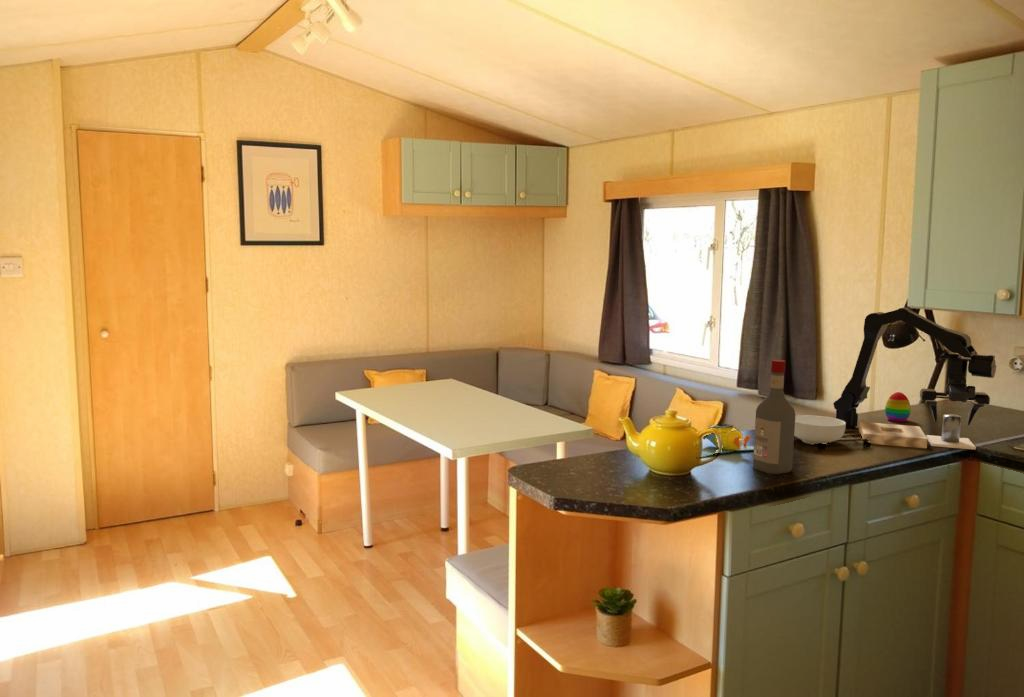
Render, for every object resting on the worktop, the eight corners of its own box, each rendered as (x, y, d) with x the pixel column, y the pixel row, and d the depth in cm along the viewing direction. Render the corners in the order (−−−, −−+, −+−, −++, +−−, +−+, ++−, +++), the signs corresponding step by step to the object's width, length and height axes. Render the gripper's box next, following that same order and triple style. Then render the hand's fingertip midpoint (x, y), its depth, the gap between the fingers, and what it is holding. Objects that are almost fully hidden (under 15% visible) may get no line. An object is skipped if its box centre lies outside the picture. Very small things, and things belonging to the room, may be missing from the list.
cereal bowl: (856, 444, 262) (857, 422, 262) (820, 451, 254) (821, 428, 253) (810, 433, 277) (812, 412, 276) (775, 439, 268) (776, 417, 267)
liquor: (772, 475, 227) (778, 364, 223) (747, 467, 235) (753, 359, 231) (797, 471, 231) (803, 362, 227) (771, 463, 239) (778, 357, 235)
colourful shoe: (704, 432, 239) (672, 423, 252) (703, 463, 240) (671, 451, 253) (781, 424, 251) (747, 415, 264) (780, 453, 252) (746, 443, 265)
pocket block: (862, 443, 265) (863, 433, 264) (858, 430, 282) (859, 421, 281) (926, 448, 259) (927, 438, 259) (918, 435, 276) (919, 426, 276)
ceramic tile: (931, 446, 262) (932, 443, 262) (926, 437, 274) (926, 434, 274) (975, 449, 259) (975, 447, 259) (967, 440, 270) (968, 438, 270)
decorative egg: (915, 422, 296) (917, 394, 295) (894, 423, 294) (896, 394, 293) (899, 417, 304) (901, 389, 303) (879, 418, 302) (881, 390, 301)
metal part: (942, 441, 264) (944, 416, 263) (940, 438, 269) (942, 413, 268) (960, 443, 263) (962, 417, 262) (957, 439, 268) (959, 414, 267)
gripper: (926, 376, 259) (922, 426, 261) (996, 380, 253) (991, 431, 255) (921, 370, 269) (917, 419, 271) (987, 374, 263) (983, 424, 265)
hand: (951, 423), depth 265 cm, fingers open, 9 cm apart
